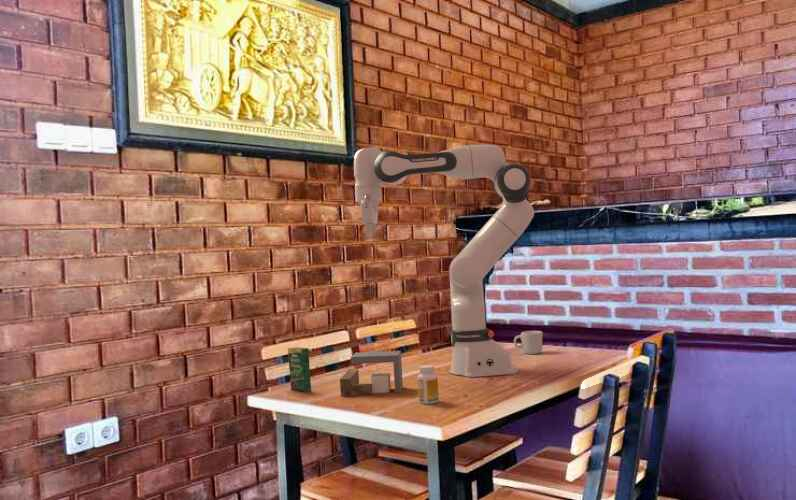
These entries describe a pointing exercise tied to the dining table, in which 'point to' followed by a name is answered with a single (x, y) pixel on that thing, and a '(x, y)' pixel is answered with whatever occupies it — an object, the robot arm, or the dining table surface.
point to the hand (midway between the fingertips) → (370, 237)
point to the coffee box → (299, 369)
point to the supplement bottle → (427, 385)
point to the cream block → (380, 382)
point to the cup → (530, 341)
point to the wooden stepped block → (353, 384)
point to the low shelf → (382, 358)
